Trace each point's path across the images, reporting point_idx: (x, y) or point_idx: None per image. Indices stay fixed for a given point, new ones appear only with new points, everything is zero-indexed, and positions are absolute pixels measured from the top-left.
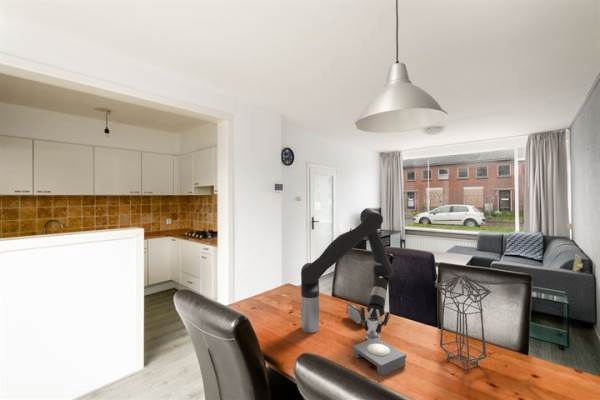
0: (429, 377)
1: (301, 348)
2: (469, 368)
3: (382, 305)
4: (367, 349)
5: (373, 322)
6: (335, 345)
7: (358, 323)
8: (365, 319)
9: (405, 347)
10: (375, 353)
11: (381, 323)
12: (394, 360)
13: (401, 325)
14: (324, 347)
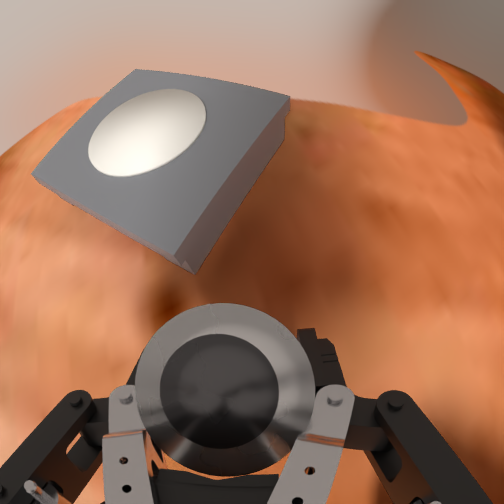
0: (14, 183)
1: (470, 116)
2: None
3: None
4: (200, 100)
5: (190, 312)
6: (411, 177)
7: None
8: (347, 399)
9: (45, 360)
10: (157, 95)
11: (113, 394)
12: (84, 117)
13: None
14: (430, 144)
